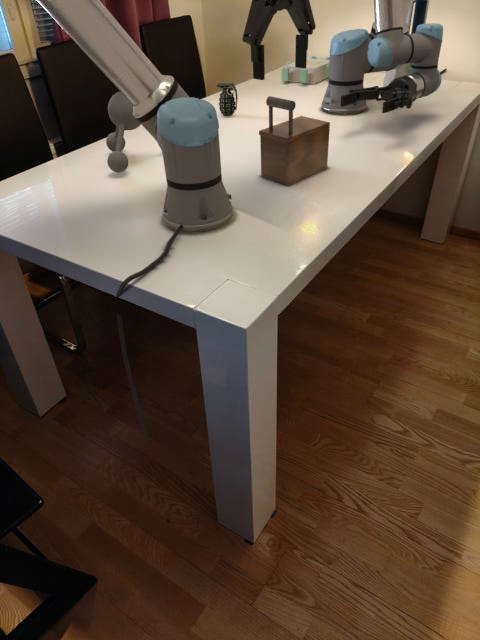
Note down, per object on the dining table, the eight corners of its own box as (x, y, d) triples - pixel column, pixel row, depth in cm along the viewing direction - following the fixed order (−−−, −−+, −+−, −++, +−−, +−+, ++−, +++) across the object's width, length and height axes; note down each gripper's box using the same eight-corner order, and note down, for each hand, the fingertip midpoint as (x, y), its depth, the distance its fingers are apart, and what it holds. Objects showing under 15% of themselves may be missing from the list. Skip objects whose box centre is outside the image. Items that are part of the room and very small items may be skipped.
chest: (288, 185, 119) (288, 142, 112) (261, 176, 124) (260, 134, 118) (327, 168, 127) (329, 126, 120) (300, 160, 132) (301, 119, 126)
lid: (287, 142, 112) (287, 104, 107) (258, 134, 118) (257, 98, 113) (329, 126, 120) (332, 89, 115) (301, 119, 126) (302, 84, 121)
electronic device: (391, 95, 179) (404, -2, 161) (381, 91, 185) (392, -4, 167) (421, 91, 181) (437, -5, 163) (410, 87, 187) (425, -6, 169)
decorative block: (304, 54, 217) (345, 57, 207) (303, 70, 221) (343, 73, 211) (272, 65, 201) (315, 69, 191) (272, 82, 205) (314, 86, 195)
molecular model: (192, 164, 133) (178, 39, 115) (111, 178, 128) (83, 49, 109) (169, 139, 151) (154, 28, 132) (98, 152, 145) (72, 36, 127)
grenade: (217, 117, 168) (214, 86, 162) (221, 112, 172) (219, 82, 166) (235, 117, 166) (233, 86, 160) (239, 113, 171) (238, 82, 165)
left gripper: (307, -50, 104) (304, 61, 117) (220, -42, 91) (227, 81, 104) (335, -51, 99) (329, 65, 112) (248, -43, 86) (252, 86, 99)
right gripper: (442, 108, 138) (401, 125, 127) (367, 98, 153) (325, 112, 142) (447, 79, 134) (405, 94, 122) (370, 72, 149) (326, 84, 138)
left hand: (280, 73), depth 108 cm, fingers open, 13 cm apart
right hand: (362, 104), depth 132 cm, fingers open, 13 cm apart
